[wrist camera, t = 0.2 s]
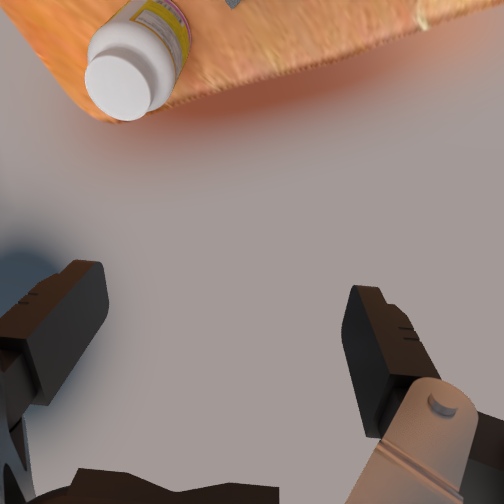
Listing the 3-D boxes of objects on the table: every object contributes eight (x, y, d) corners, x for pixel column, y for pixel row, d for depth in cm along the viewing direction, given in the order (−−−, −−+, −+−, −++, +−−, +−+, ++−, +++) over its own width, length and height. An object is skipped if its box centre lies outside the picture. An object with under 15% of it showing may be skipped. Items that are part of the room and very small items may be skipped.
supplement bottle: (134, 69, 36) (89, 133, 27) (113, -9, 31) (50, 39, 22) (198, 69, 35) (172, 133, 27) (186, -11, 30) (150, 37, 22)
